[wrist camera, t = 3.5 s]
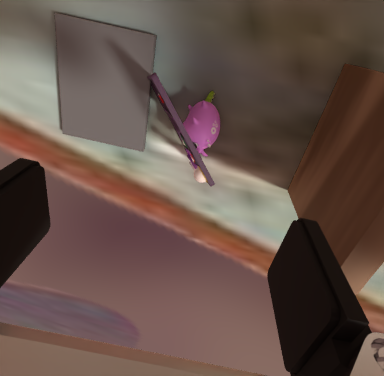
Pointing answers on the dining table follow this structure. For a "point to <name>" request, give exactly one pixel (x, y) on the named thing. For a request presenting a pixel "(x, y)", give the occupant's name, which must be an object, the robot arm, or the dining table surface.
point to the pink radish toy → (193, 127)
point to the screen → (347, 174)
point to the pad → (104, 81)
